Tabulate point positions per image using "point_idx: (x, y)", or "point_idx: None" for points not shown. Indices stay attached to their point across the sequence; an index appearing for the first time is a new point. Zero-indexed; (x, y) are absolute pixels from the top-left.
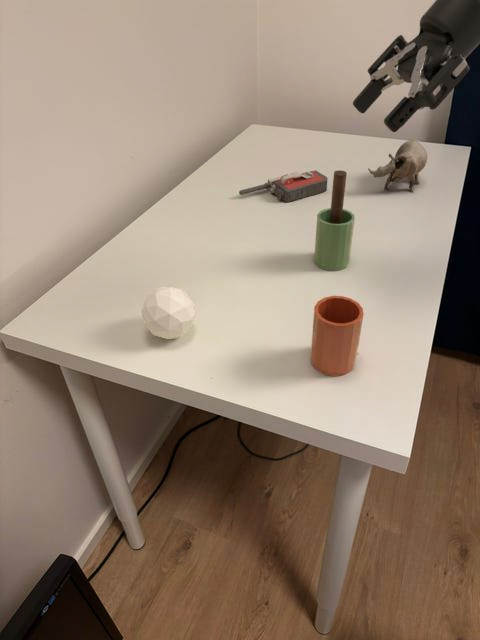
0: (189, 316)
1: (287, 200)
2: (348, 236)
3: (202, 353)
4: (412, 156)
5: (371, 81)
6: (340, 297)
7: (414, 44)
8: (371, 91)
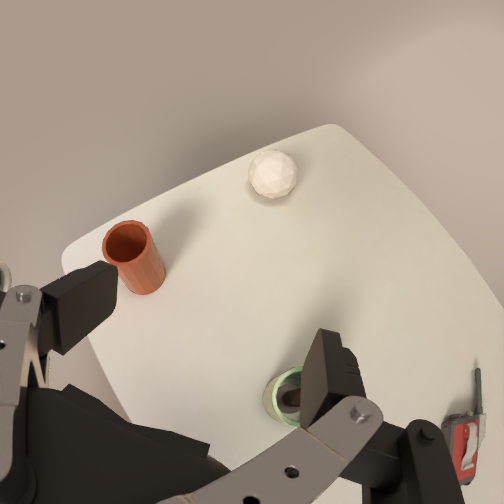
0: (252, 178)
1: (443, 424)
2: (268, 402)
3: (229, 195)
4: None
5: (344, 391)
6: (137, 257)
7: None
8: (317, 389)
